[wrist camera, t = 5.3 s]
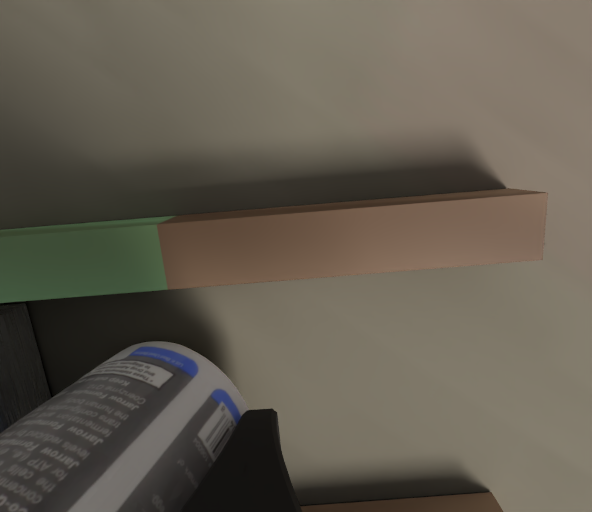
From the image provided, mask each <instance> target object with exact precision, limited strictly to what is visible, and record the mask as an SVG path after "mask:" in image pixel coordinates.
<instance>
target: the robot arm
mask: <svg viewBox="0 0 592 512" xmlns="http://www.w3.org/2000/svg"><path fill="white" fill-rule="evenodd" d="M180 512H302V510H301V507H300V505H299V502H298V500H297V497H296V495H295V492H294V489H293V486H292V484H291V481H290V478H289V474H288V471H287V468H286V465H285V462H284V459H283V455H282V451H281V445H280V436H279V426H278V417H277V412H276V411H274V410H273V409H260V410H247V411H246V412H245V413H244V414H243V415H242V416H241V418H240V420H239V422H238V424H237V426H236V427H235V429H234V431H233V433H232V434H231V436H230V438H229V439H228V441H227V443H226V444H225V446H224V448H223V449H222V451H221V452H220V454H219V456H218V457H217V459H216V460H215V462H214V463H213V465H212V466H211V468H210V469H209V471H208V472H207V474H206V475H205V477H204V478H203V480H202V481H201V483H200V484H199V486H198V487H197V489H196V490H195V491H194V493H193V494H192V495H191V497H190V498H189V500H188V501H187V502H186V504H185V505H184V506H183V508H182V509H181V510H180Z"/></svg>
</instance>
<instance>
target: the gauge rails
mask: <svg viewBox="0 0 592 512" xmlns="http://www.w3.org/2000/svg"><path fill="white" fill-rule="evenodd" d="M547 199H548V193H546V192H536V191H527V190H518V189H509V188H508V189H496V190H483V191H471V192H459V193H447V194H434V195H422V196H410V197H397V198H385V199H373V200H361V201H348V202H336V203H324V204H312V205H299V206H287V207H275V208H262V209H250V210H238V211H226V212H213V213H201V214H189V215H176V216H164V217H152V218H140V219H127V220H115V221H103V222H91V223H78V224H66V225H54V226H41V227H29V228H17V229H5V230H0V303H7V302H20V301H32V300H45V299H57V298H70V297H83V296H95V295H108V294H120V293H133V292H145V291H158V290H170V289H183V288H196V287H208V286H221V285H233V284H246V283H258V282H271V281H284V280H296V279H309V278H321V277H334V276H346V275H359V274H371V273H384V272H397V271H409V270H422V269H434V268H447V267H459V266H472V265H485V264H497V263H510V262H522V261H535V260H543V248H544V235H545V223H546V211H547ZM300 507H301V510H302V512H503V510H502V509H501V507H500V506H499V504H498V502H497V501H496V499H495V497H494V496H493V494H492V492H488V493H474V494H461V495H447V496H434V497H420V498H407V499H393V500H380V501H366V502H352V503H339V504H325V505H312V506H300Z"/></svg>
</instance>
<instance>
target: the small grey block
mask: <svg viewBox="0 0 592 512" xmlns="http://www.w3.org/2000/svg"><path fill="white" fill-rule="evenodd" d="M50 399H51V395H50V391H49V388H48V384H47V380H46V377H45V373H44V369H43V366H42V362H41V358H40V355H39V351H38V347H37V343H36V340H35V336H34V332H33V329H32V325H31V321H30V318H29V314H28V310H27V307H26V303H22V304H9V305H0V433H1V432H3V431H4V430H6V429H7V428H8V427H10V426H11V425H13V424H14V423H16V422H17V421H18V420H20V419H21V418H23V417H24V416H26V415H27V414H29V413H30V412H32V411H33V410H35V409H36V408H37V407H39V406H40V405H42V404H43V403H45V402H46V401H48V400H50Z"/></svg>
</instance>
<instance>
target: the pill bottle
mask: <svg viewBox="0 0 592 512" xmlns="http://www.w3.org/2000/svg"><path fill="white" fill-rule="evenodd" d="M247 410H249V409H248V407H247V405H246V402H245V401H244V399H243V397H242V396H241V394H240V393H239V391H238V389H237V388H236V387H235V385H234V384H233V383H232V381H231V380H230V379H229V378H228V377H227V376H226V375H225V374H224V373H223V372H222V371H221V370H220V369H219V368H218V367H217V366H216V365H214V364H213V363H212V362H211V361H209V360H208V359H207V358H205V357H203V356H202V355H200V354H199V353H197V352H195V351H193V350H191V349H189V348H187V347H185V346H182V345H180V344H176V343H171V342H163V341H152V342H143V343H139V344H135V345H132V346H130V347H128V348H126V349H124V350H122V351H121V352H119V353H117V354H116V355H114V356H113V357H111V358H110V359H108V360H106V361H105V362H103V363H102V364H101V365H99V366H97V367H96V368H95V369H93V370H92V371H90V372H89V373H87V374H86V375H84V376H83V377H81V378H80V379H79V380H77V381H76V382H75V383H73V384H72V385H70V386H68V387H67V388H65V389H64V390H62V391H61V392H60V393H58V394H57V395H55V396H54V397H52V398H51V399H50V400H48V401H46V402H45V403H43V404H42V405H40V406H39V407H37V408H36V409H35V410H33V411H32V412H30V413H29V414H27V415H26V416H24V417H23V418H21V419H20V420H18V421H17V422H16V423H14V424H13V425H11V426H10V427H8V428H7V429H6V430H4V431H3V432H1V433H0V512H180V510H181V509H182V508H183V506H184V505H185V504H186V502H187V501H188V500H189V498H190V497H191V495H192V494H193V493H194V491H195V490H196V489H197V487H198V486H199V484H200V483H201V481H202V480H203V478H204V477H205V475H206V474H207V472H208V471H209V469H210V468H211V466H212V465H213V463H214V462H215V460H216V459H217V457H218V456H219V454H220V452H221V451H222V449H223V448H224V446H225V444H226V443H227V441H228V439H229V438H230V436H231V434H232V433H233V431H234V429H235V427H236V426H237V424H238V422H239V420H240V418H241V416H242V415H243V414H244V413H245V412H246V411H247Z"/></svg>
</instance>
